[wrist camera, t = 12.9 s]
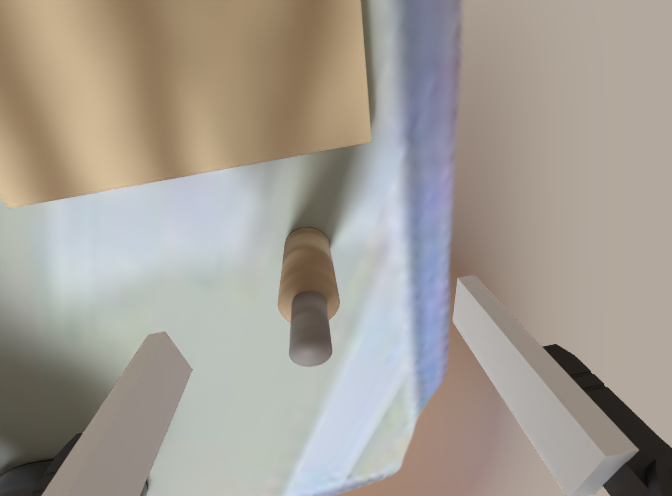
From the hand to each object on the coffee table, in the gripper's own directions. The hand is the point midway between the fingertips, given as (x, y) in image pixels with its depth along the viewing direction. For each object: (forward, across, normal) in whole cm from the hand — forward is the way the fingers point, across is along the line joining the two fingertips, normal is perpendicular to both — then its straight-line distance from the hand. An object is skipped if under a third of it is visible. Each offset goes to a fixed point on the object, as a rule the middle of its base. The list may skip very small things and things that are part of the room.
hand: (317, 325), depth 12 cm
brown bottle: (+8, 0, 0) cm, 8 cm away
